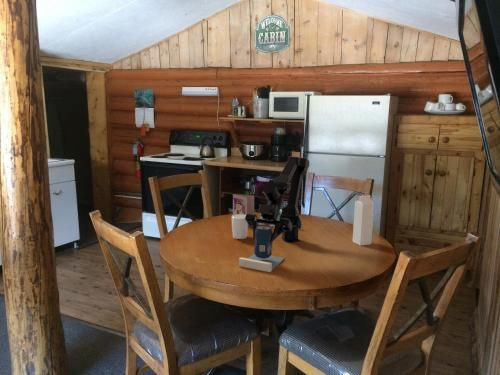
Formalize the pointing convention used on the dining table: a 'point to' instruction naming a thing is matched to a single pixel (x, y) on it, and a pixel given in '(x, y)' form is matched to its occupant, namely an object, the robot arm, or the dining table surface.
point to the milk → (363, 220)
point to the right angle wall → (269, 224)
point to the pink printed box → (243, 204)
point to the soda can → (263, 241)
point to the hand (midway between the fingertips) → (262, 241)
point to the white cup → (239, 226)
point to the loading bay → (260, 262)
